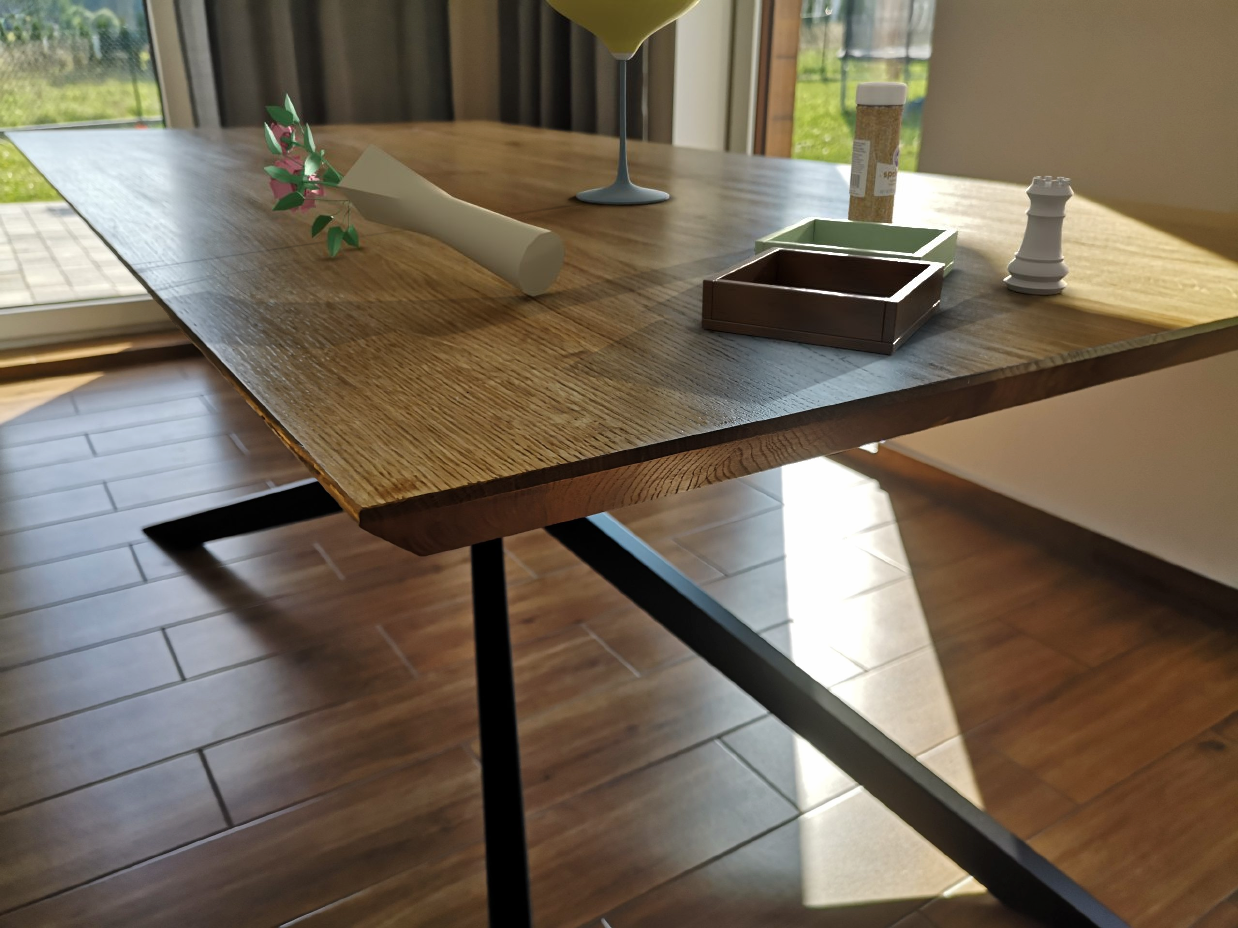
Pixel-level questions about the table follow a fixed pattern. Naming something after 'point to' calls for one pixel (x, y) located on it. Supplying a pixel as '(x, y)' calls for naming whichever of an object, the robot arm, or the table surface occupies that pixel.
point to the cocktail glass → (622, 69)
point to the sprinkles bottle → (876, 151)
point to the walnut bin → (824, 298)
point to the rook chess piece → (1042, 240)
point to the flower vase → (409, 208)
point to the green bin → (867, 240)
